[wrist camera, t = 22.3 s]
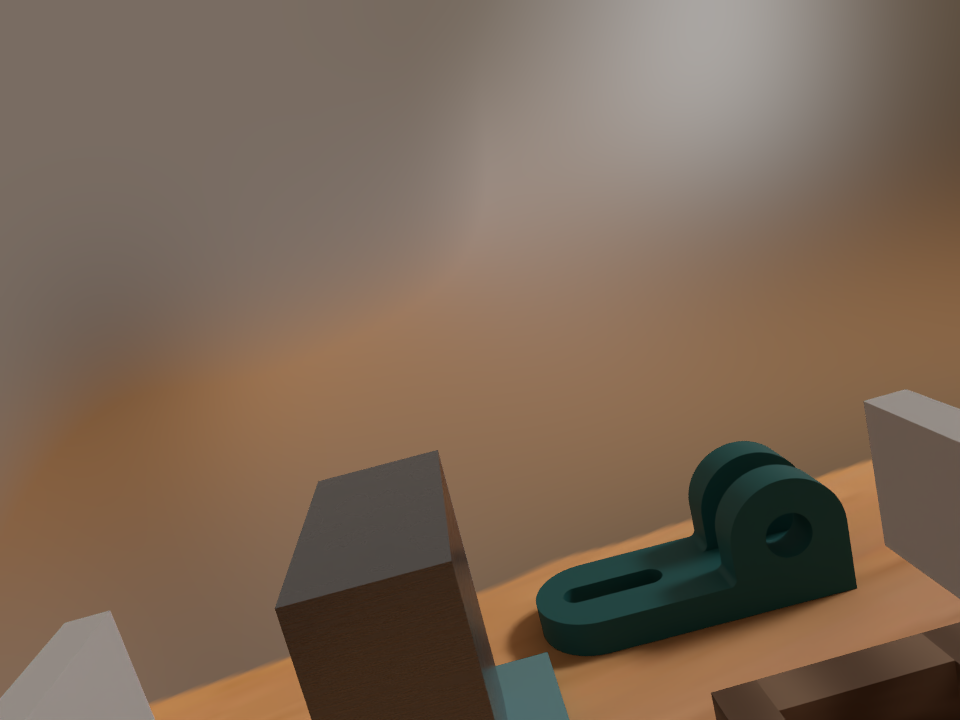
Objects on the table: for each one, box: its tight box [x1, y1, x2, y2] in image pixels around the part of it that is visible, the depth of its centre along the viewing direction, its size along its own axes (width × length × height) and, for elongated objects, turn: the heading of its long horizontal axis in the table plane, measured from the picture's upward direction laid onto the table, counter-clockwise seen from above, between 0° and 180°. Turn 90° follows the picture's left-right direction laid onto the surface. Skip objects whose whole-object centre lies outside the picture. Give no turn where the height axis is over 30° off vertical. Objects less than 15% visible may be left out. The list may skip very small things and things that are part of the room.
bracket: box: [536, 441, 857, 656], centre depth 45 cm, size 18×7×8 cm, turn 94°
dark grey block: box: [275, 450, 508, 720], centre depth 32 cm, size 6×12×14 cm, turn 5°
